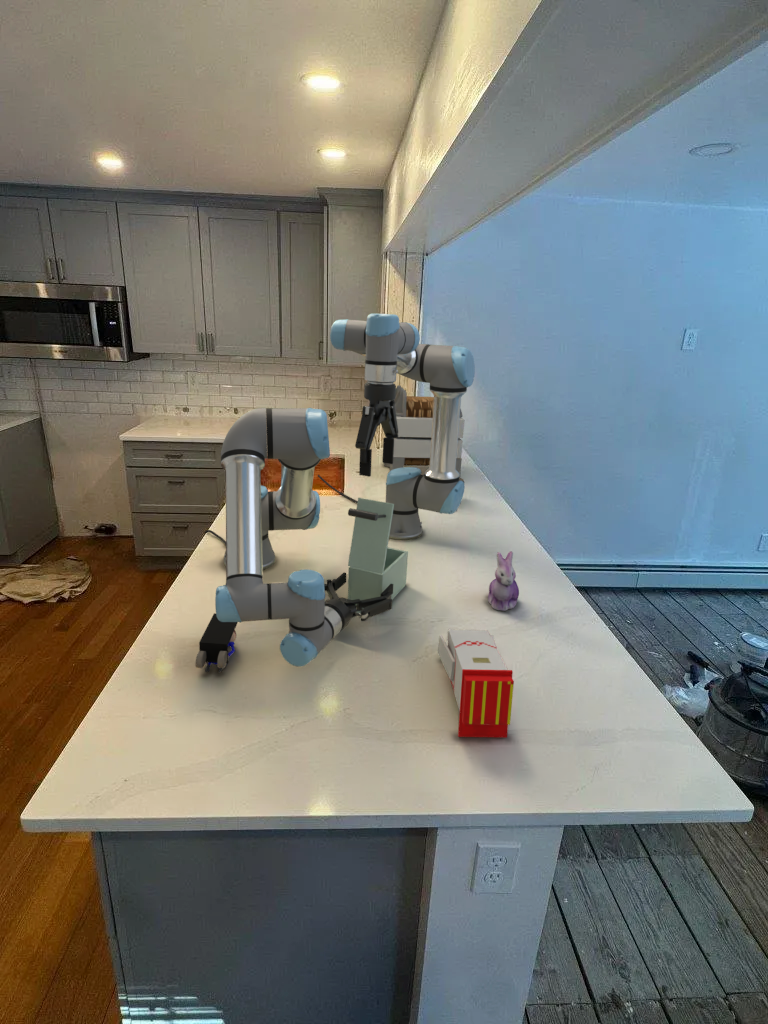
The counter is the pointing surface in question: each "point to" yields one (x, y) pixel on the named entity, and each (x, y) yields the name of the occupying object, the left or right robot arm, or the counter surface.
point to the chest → (379, 577)
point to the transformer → (417, 431)
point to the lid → (370, 534)
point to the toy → (478, 682)
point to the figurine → (503, 584)
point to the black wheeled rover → (216, 644)
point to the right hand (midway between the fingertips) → (376, 469)
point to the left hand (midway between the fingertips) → (368, 582)
